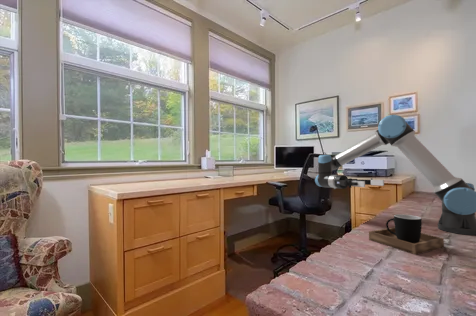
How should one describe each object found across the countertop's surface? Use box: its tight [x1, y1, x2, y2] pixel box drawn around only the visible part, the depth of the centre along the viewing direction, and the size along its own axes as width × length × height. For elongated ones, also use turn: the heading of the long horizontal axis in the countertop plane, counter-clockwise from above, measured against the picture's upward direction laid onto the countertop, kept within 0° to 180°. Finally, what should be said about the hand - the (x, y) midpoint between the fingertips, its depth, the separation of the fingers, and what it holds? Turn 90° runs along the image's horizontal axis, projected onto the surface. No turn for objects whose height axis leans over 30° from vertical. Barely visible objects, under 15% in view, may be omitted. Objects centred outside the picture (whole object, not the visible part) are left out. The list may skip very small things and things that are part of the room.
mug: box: [385, 213, 423, 243], centre depth 94 cm, size 12×9×10 cm
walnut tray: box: [368, 226, 445, 256], centre depth 94 cm, size 18×18×4 cm
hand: (374, 183), depth 111 cm, fingers open, 13 cm apart
